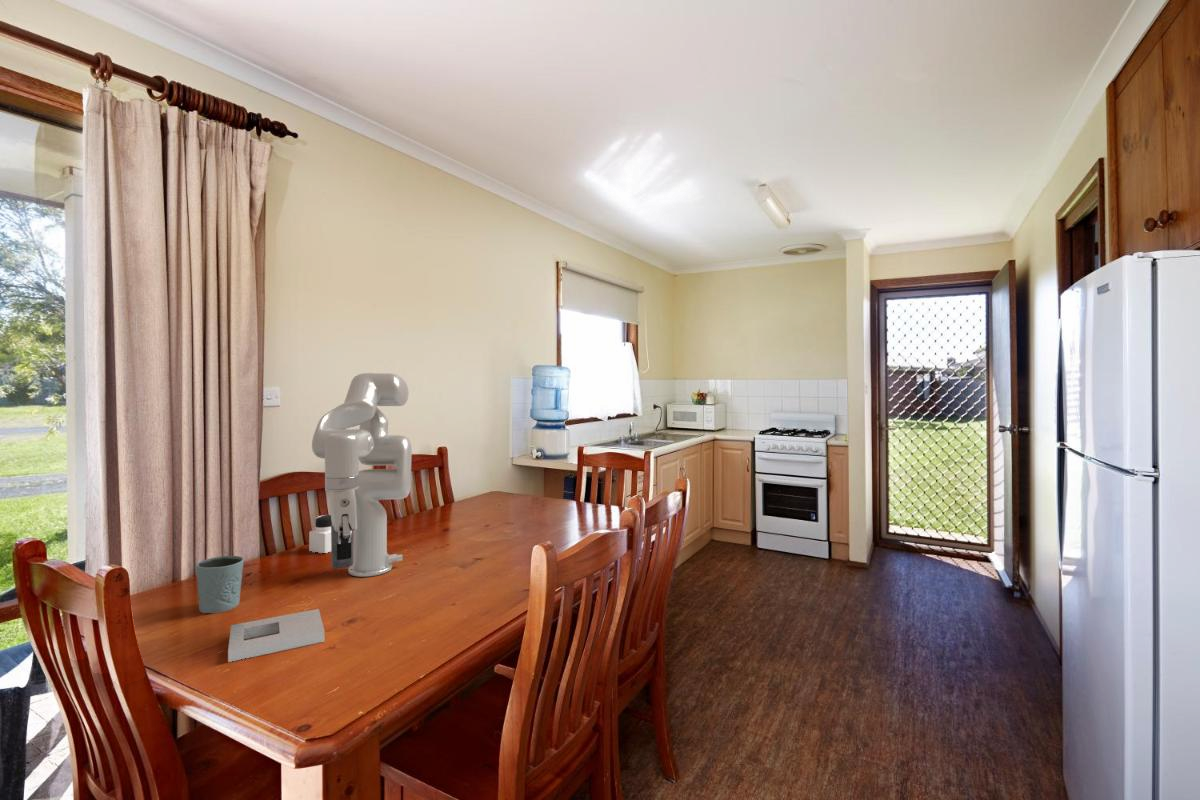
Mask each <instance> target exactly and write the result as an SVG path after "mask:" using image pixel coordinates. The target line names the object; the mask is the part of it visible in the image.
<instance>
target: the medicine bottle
mask: <svg viewBox="0 0 1200 800" xmlns="http://www.w3.org/2000/svg"><path fill="white" fill-rule="evenodd" d="M314 523H315V524H314V525H315V526H314V530H310V531H309V533H308V535H309V536H308V538H309V539H308V543H309V544H308V547H309V548H308V551H309V552H310V551H312V552H311V553H315V552H318V553H317V554H322V553H326V554H328V552H329V553H331V525H332V521H331V514H325V515H319V516H317V517H316V518H315V520H314Z"/></svg>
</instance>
